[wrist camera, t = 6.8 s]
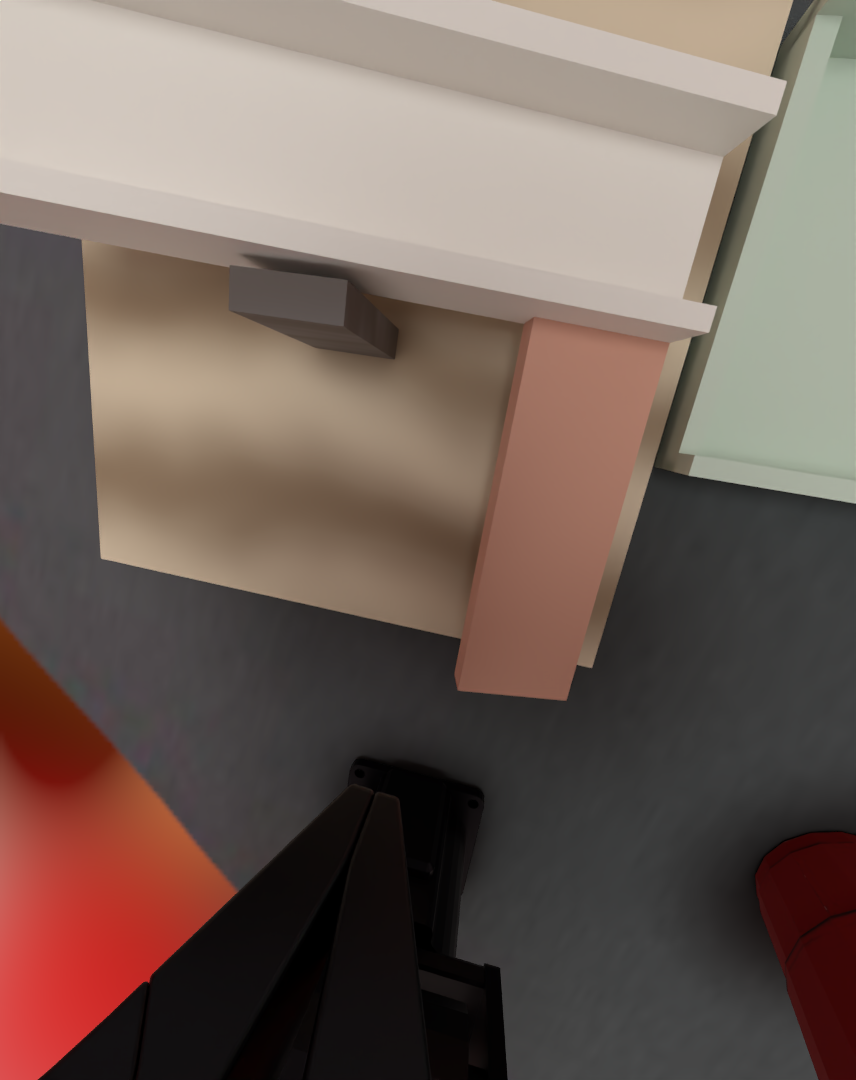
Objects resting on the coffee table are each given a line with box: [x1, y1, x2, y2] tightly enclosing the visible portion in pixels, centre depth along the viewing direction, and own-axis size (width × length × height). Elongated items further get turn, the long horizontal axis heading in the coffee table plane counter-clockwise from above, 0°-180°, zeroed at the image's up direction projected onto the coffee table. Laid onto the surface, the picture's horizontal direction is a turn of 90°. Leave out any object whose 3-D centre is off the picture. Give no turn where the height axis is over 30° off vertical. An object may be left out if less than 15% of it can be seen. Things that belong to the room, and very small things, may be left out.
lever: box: [0, 0, 787, 701], centre depth 12 cm, size 17×20×3 cm
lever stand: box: [82, 0, 793, 668], centre depth 13 cm, size 21×22×6 cm
